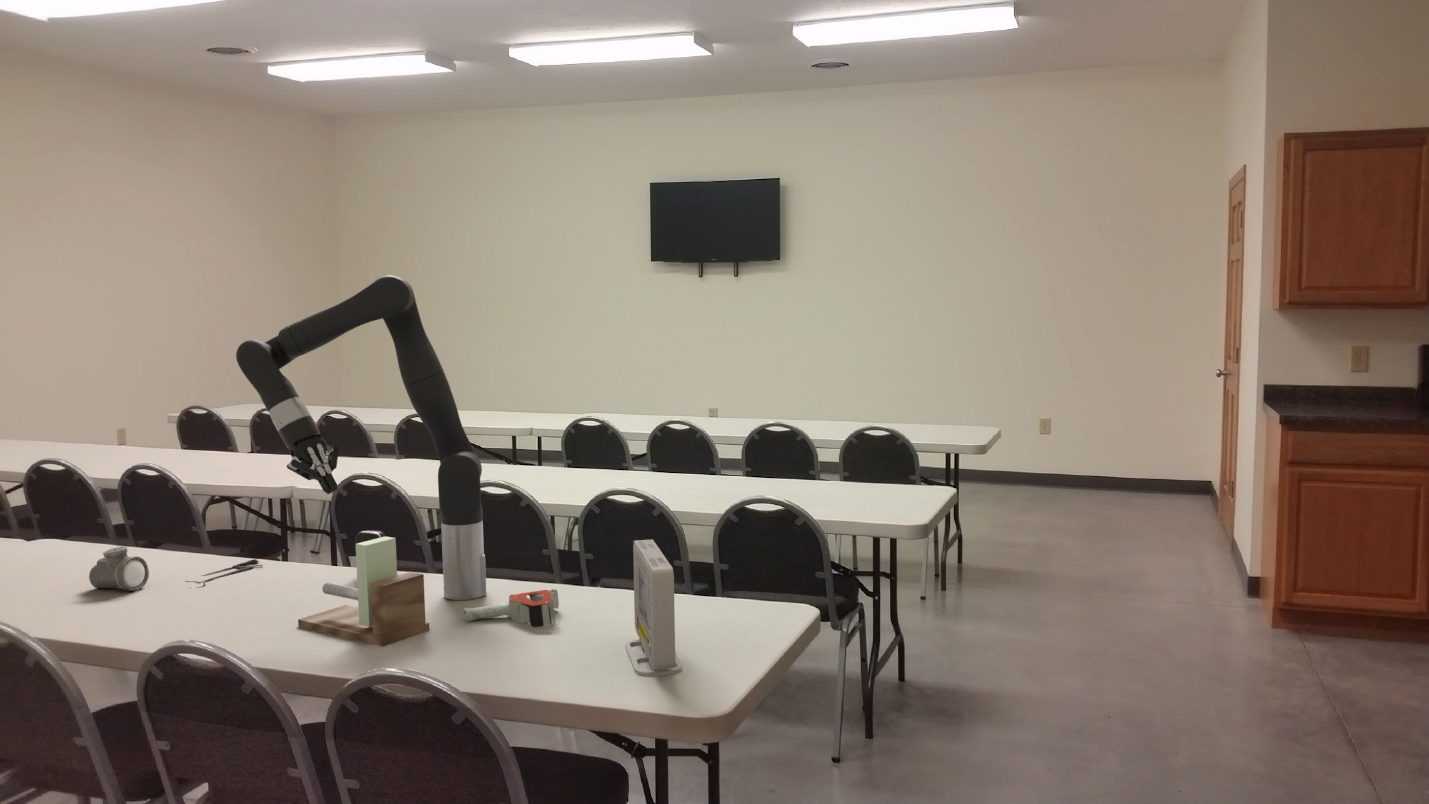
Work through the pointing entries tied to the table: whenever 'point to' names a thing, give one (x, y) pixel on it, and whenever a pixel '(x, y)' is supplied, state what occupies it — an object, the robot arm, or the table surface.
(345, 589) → the pipe
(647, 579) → the network device
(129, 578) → the pipe fitting
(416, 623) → the base board
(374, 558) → the pale green tall slab
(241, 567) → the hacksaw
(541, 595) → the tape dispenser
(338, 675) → the table surface
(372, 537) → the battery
